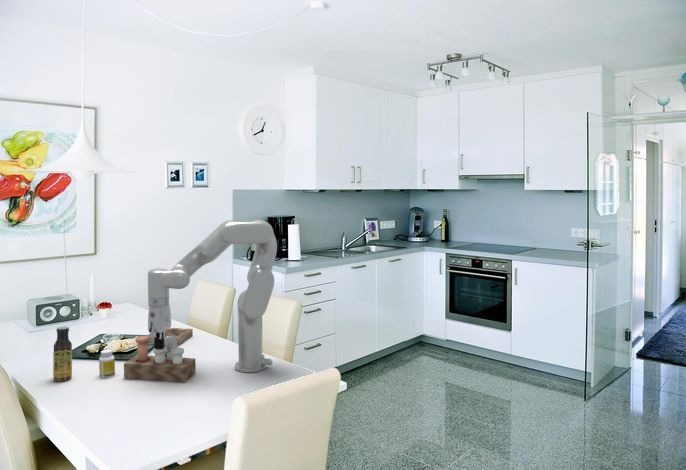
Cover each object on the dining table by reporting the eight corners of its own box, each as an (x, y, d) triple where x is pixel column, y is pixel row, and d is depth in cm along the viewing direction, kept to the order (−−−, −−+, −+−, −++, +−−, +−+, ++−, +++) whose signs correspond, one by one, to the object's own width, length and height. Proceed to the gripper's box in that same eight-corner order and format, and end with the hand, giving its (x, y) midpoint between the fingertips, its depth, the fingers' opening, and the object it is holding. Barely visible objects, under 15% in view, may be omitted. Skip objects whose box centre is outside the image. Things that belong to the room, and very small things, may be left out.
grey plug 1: (169, 372, 203) (168, 346, 202) (163, 377, 198) (162, 350, 197) (157, 371, 204) (156, 346, 203) (151, 376, 199) (150, 350, 198)
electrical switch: (160, 362, 215) (158, 340, 215) (153, 361, 219) (151, 339, 218) (179, 357, 223) (178, 335, 222) (172, 355, 226) (171, 334, 226)
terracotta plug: (152, 361, 203) (151, 336, 202) (145, 366, 199) (145, 340, 198) (140, 361, 204) (139, 335, 203) (133, 365, 199) (133, 339, 198)
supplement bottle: (118, 374, 202) (117, 349, 201) (107, 379, 197) (106, 354, 196) (107, 372, 204) (106, 348, 203) (96, 377, 199) (95, 352, 198)
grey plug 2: (186, 373, 202) (186, 348, 201) (181, 378, 197) (180, 352, 196) (174, 372, 203) (174, 347, 202) (169, 377, 198) (168, 351, 197)
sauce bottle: (53, 383, 192) (50, 330, 190) (53, 377, 198) (51, 326, 196) (73, 380, 195) (71, 328, 193) (73, 375, 201) (71, 324, 199)
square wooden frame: (192, 336, 252) (192, 328, 252) (178, 346, 237) (178, 338, 236) (161, 334, 254) (161, 327, 254) (144, 344, 239) (144, 336, 238)
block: (195, 373, 204) (195, 358, 204) (184, 383, 195) (184, 367, 194) (137, 369, 207) (137, 354, 207) (124, 379, 198) (123, 363, 197)
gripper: (158, 306, 190) (159, 355, 192) (176, 297, 205) (177, 343, 207) (139, 305, 191) (140, 354, 193) (158, 296, 206) (159, 342, 208)
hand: (159, 348), depth 200 cm, fingers closed
